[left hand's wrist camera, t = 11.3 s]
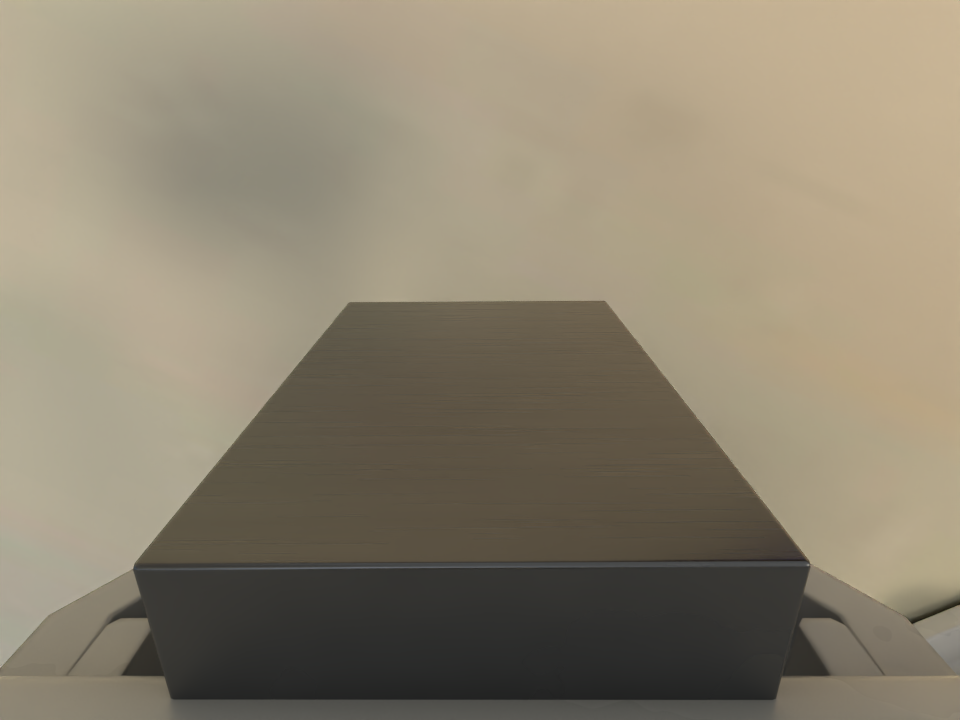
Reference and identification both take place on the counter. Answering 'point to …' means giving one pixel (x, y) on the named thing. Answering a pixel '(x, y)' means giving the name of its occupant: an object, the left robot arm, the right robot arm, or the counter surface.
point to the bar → (473, 526)
